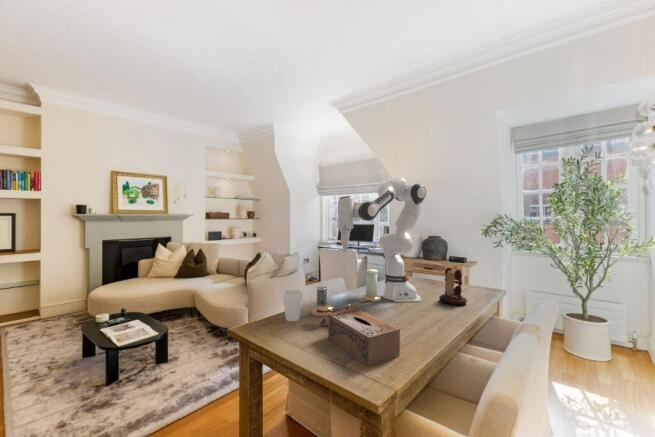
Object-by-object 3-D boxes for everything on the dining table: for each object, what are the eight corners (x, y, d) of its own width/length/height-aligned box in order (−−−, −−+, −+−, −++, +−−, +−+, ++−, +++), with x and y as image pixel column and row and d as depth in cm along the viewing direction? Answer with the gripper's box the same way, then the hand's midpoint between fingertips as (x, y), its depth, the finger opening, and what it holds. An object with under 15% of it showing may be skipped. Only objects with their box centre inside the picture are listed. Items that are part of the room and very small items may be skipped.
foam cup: (303, 316, 142) (304, 290, 142) (300, 323, 133) (300, 295, 133) (285, 315, 143) (285, 289, 143) (280, 322, 134) (280, 294, 134)
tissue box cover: (328, 338, 118) (328, 314, 118) (356, 331, 125) (356, 308, 125) (368, 367, 96) (369, 337, 96) (399, 356, 103) (399, 329, 103)
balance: (379, 323, 133) (379, 294, 133) (380, 330, 126) (381, 299, 125) (317, 320, 137) (318, 291, 136) (315, 326, 129) (315, 296, 128)
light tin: (377, 295, 132) (377, 269, 132) (377, 298, 127) (378, 271, 127) (365, 294, 133) (366, 269, 132) (366, 297, 127) (366, 271, 127)
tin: (327, 309, 149) (327, 286, 148) (326, 312, 143) (326, 289, 143) (317, 309, 149) (317, 286, 149) (315, 312, 144) (316, 288, 144)
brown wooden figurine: (433, 300, 171) (434, 267, 171) (451, 297, 177) (452, 265, 177) (454, 307, 158) (454, 271, 157) (472, 304, 164) (473, 270, 163)
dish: (332, 310, 151) (332, 308, 151) (330, 317, 141) (330, 314, 141) (313, 309, 152) (313, 307, 152) (310, 316, 142) (310, 313, 142)
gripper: (350, 226, 146) (350, 253, 146) (351, 224, 166) (351, 248, 166) (338, 226, 147) (337, 252, 147) (340, 224, 167) (340, 248, 167)
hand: (345, 250), depth 157 cm, fingers open, 8 cm apart
